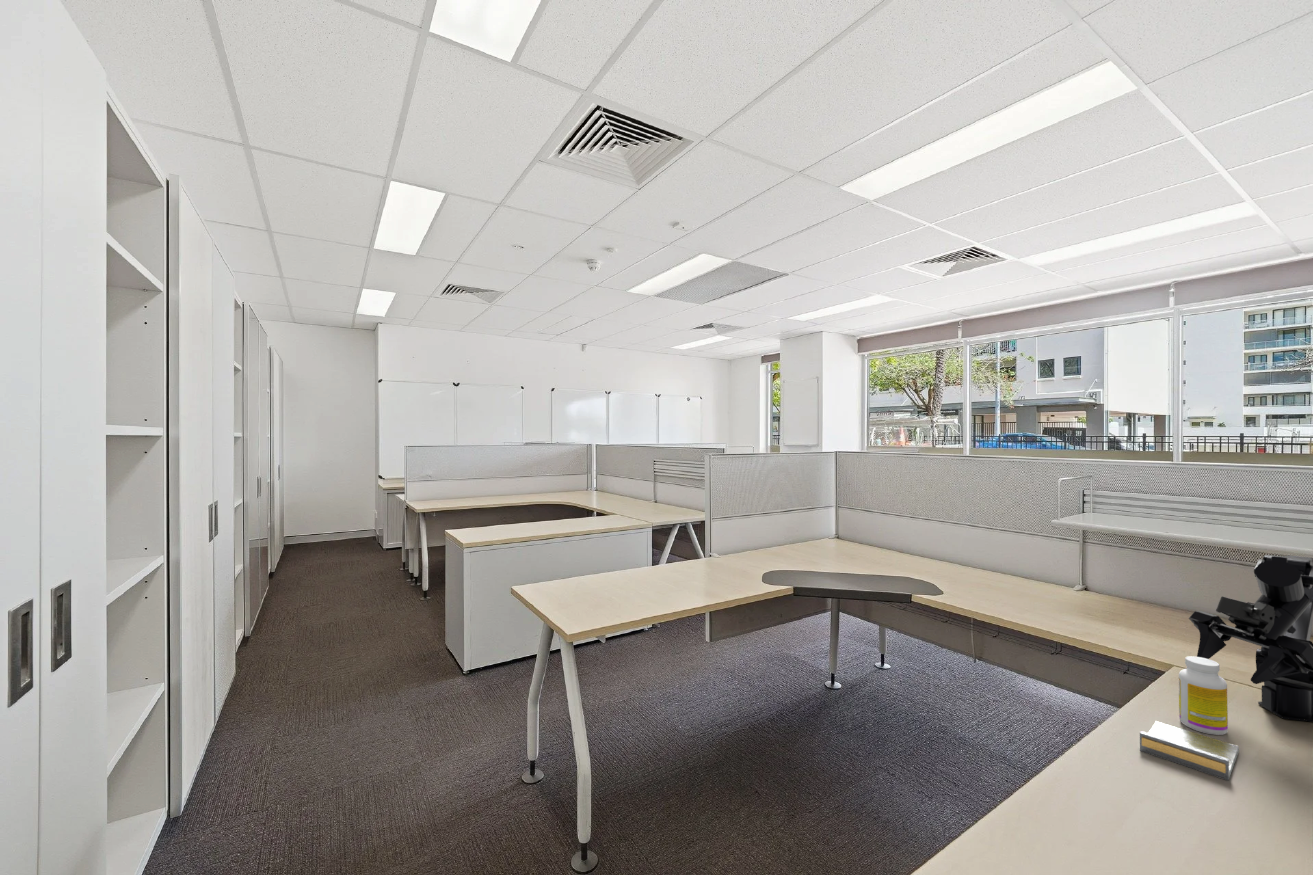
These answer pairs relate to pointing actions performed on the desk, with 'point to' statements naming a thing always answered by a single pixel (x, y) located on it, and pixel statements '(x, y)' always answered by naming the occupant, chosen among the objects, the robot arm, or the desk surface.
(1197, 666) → the supplement bottle
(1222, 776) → the grey metal slab
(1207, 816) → the desk surface
